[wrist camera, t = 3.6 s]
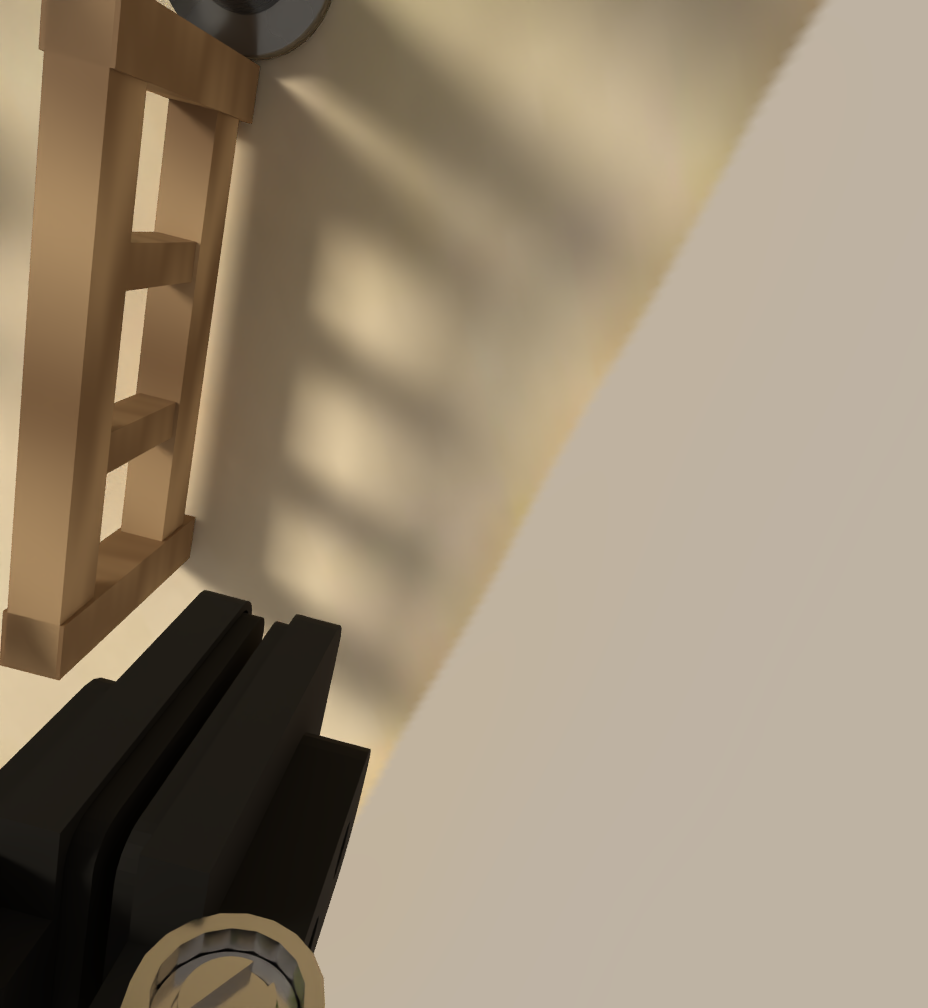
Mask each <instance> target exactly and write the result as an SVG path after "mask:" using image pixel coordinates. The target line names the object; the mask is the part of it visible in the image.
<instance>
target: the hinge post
mask: <svg viewBox="0 0 928 1008" xmlns="http://www.w3.org/2000/svg"><path fill="white" fill-rule="evenodd" d="M169 1H170V3H171V5H172V6H173V8H174V9H175V11H176V13H177V14H178V15H179V16H181V17H182V18H184V19H186V20H187V21H189V22H190V23H192V24H194V25H195V26H197V27H198V28H200V29H201V30H203V31H205V32H206V33H208V34H209V35H211V36H213V37H214V38H216V39H217V40H219V41H221V42H222V43H224V44H225V45H227V46H229V47H230V48H232V49H233V50H235V51H237V52H238V53H240V54H241V55H243V56H245V57H246V58H248V59H250V60H264V59H270V58H275V57H279V56H281V55H284V54H286V53H288V52H290V51H292V50H294V49H295V48H297V47H298V46H300V45H301V44H302V43H304V42H305V41H306V40H307V39H308V38H309V37H310V36H311V35H312V34H313V33H314V31H315V30H316V29H317V27H318V26H319V25H320V23H321V22H322V20H323V18H324V16H325V14H326V13H327V10H328V8H329V5H330V3H331V0H169Z"/></svg>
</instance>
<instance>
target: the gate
mask: <svg viewBox="0 0 928 1008" xmlns="http://www.w3.org/2000/svg"><path fill="white" fill-rule="evenodd" d="M39 49H40V50H42V51H44V60H43V75H42V90H41V105H40V121H39V136H38V151H37V167H36V182H35V197H34V213H33V228H32V243H31V258H30V274H29V289H28V304H27V320H26V335H25V350H24V365H23V381H22V396H21V411H20V427H19V442H18V457H17V473H16V488H15V503H14V518H13V534H12V549H11V564H10V580H9V595H8V608H7V609H5V610H4V611H3V619H2V635H1V651H0V665H1V666H5V667H9V668H13V669H17V670H21V671H25V672H29V673H33V674H36V675H40V676H44V677H48V678H52V679H56V680H60V679H61V678H62V677H63V676H64V675H65V674H66V673H68V672H69V671H70V670H71V669H72V668H73V667H74V666H75V665H76V664H77V663H78V662H79V661H80V660H81V659H82V658H83V657H85V656H86V655H87V654H88V653H89V652H90V651H91V650H92V649H93V648H94V647H95V646H96V645H97V644H98V643H99V642H100V641H102V640H103V639H104V638H105V637H106V636H107V635H108V634H109V633H110V632H111V631H112V630H113V629H114V628H115V627H116V626H117V625H119V624H120V623H121V622H122V621H123V620H124V619H125V618H126V617H127V616H128V615H129V614H130V613H131V612H132V611H133V610H135V609H136V608H137V607H138V606H139V605H140V604H141V603H142V602H143V601H144V600H145V599H146V598H147V597H148V596H149V595H150V594H152V593H153V592H154V591H155V590H156V589H157V588H158V587H159V586H160V585H161V584H162V583H163V582H164V581H165V580H166V579H167V578H169V577H170V576H171V575H172V574H173V573H174V572H175V571H176V570H177V569H178V568H179V567H180V566H181V565H182V564H183V563H184V562H186V561H187V560H188V559H189V558H190V551H191V544H192V537H193V530H194V523H195V517H193V516H189V515H185V507H186V500H187V492H188V485H189V478H190V471H191V463H192V456H193V449H194V442H195V435H196V427H197V420H198V413H199V406H200V398H201V391H202V384H203V377H204V369H205V362H206V355H207V348H208V341H209V333H210V326H211V319H212V312H213V304H214V297H215V290H216V283H217V276H218V268H219V261H220V254H221V247H222V239H223V232H224V225H225V218H226V211H227V203H228V196H229V189H230V182H231V174H232V167H233V160H234V153H235V145H236V138H237V131H238V124H239V121H243V122H247V123H251V124H252V119H253V112H254V105H255V98H256V91H257V84H258V77H259V70H260V66H259V65H257V64H256V63H254V62H253V61H251V60H249V59H248V58H246V57H245V56H243V55H241V54H240V53H238V52H237V51H235V50H233V49H232V48H230V47H229V46H227V45H225V44H224V43H222V42H221V41H219V40H217V39H216V38H214V37H213V36H211V35H209V34H208V33H206V32H205V31H203V30H201V29H200V28H198V27H197V26H195V25H194V24H192V23H190V22H189V21H187V20H186V19H184V18H182V17H181V16H179V15H178V14H176V13H174V12H173V11H171V10H170V9H168V8H166V7H165V6H163V5H162V4H160V3H158V2H157V1H155V0H42V4H41V20H40V36H39ZM146 90H147V91H150V92H153V93H155V94H158V95H161V96H163V97H166V98H168V99H169V105H168V114H167V123H166V132H165V141H164V150H163V158H162V167H161V176H160V185H159V194H158V203H157V212H156V221H155V230H154V232H132V224H133V214H134V205H135V195H136V185H137V176H138V166H139V156H140V147H141V137H142V127H143V118H144V108H145V98H146ZM143 288H148V292H147V301H146V310H145V319H144V328H143V337H142V346H141V355H140V364H139V373H138V382H137V391H136V395H133V396H131V397H128V398H126V399H123V400H121V401H118V402H116V403H114V398H115V389H116V379H117V369H118V360H119V350H120V340H121V331H122V321H123V311H124V302H125V292H126V291H129V290H136V289H143ZM127 462H128V471H127V480H126V489H125V498H124V507H123V516H122V525H121V528H120V529H118V530H117V531H115V532H114V533H113V534H111V535H110V536H108V537H107V538H105V539H104V540H103V541H101V542H100V534H101V524H102V514H103V505H104V495H105V485H106V476H107V473H109V472H111V471H112V470H114V469H116V468H118V467H120V466H121V465H123V464H125V463H127Z"/></svg>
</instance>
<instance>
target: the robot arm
mask: <svg viewBox="0 0 928 1008" xmlns="http://www.w3.org/2000/svg"><path fill="white" fill-rule="evenodd" d="M251 614H252V605H251V603H250V602H249V601H245V600H241V599H238V598H234V597H230V596H226V595H223V594H219V593H215V592H211V591H207V590H204V591H202V592H201V593H200V594H199V595H198V596H197V597H196V598H195V599H194V600H193V601H192V602H191V603H190V604H189V605H188V606H187V608H186V609H185V610H184V611H183V612H182V613H181V614H180V615H179V616H178V617H177V618H176V619H175V620H174V621H173V622H172V623H171V624H170V625H169V626H168V628H167V629H166V630H165V631H164V632H163V633H162V634H161V635H160V636H159V637H158V638H157V639H156V640H155V641H154V642H153V643H152V644H151V645H150V646H149V648H148V649H147V650H146V651H145V652H144V653H143V654H142V655H141V656H140V657H139V658H138V659H137V660H136V661H135V662H134V663H133V664H132V665H131V666H130V668H129V669H128V670H127V671H126V672H125V673H124V674H123V675H122V676H121V677H120V678H119V679H118V680H117V681H112V680H108V679H104V678H97V679H93V680H92V681H91V682H89V683H88V684H87V685H85V686H84V687H83V688H82V689H81V690H80V691H79V692H78V693H77V694H76V695H75V696H74V697H73V698H72V699H71V700H70V701H69V702H68V703H67V704H66V705H65V706H64V707H63V708H62V709H61V710H60V711H59V712H58V713H57V714H56V715H55V716H54V717H53V718H52V719H51V720H50V721H49V722H48V723H47V724H46V725H45V726H44V727H43V728H42V729H41V730H40V731H39V732H38V733H37V734H36V735H35V736H34V737H33V738H32V739H31V740H30V741H29V742H28V743H27V744H26V745H25V746H24V747H22V748H21V749H20V750H19V751H18V752H17V753H16V754H15V755H14V756H13V757H12V758H11V759H10V760H9V761H8V762H7V763H6V764H5V765H4V766H3V767H2V768H1V769H0V1008H325V997H324V978H323V975H322V973H321V970H320V968H319V966H318V963H317V961H316V958H315V956H314V950H315V947H316V944H317V941H318V938H319V935H320V932H321V928H322V926H323V922H324V919H325V916H326V913H327V910H328V907H329V904H330V900H331V898H332V894H333V891H334V888H335V885H336V882H337V879H338V876H339V872H340V869H341V866H342V862H343V859H344V856H345V852H346V849H347V845H348V842H349V838H350V835H351V831H352V827H353V823H354V820H355V816H356V812H357V808H358V804H359V800H360V796H361V792H362V788H363V784H364V780H365V775H366V771H367V767H368V763H369V758H370V752H371V749H368V748H364V747H360V746H356V745H353V744H349V743H345V742H341V741H338V740H334V739H330V738H326V737H323V736H319V735H320V731H321V726H322V722H323V717H324V712H325V708H326V703H327V698H328V694H329V689H330V684H331V680H332V675H333V670H334V666H335V661H336V656H337V652H338V647H339V642H340V637H341V626H340V625H336V624H332V623H329V622H325V621H321V620H317V619H313V618H310V617H306V616H302V615H298V614H297V615H295V617H294V618H293V619H292V621H291V622H290V624H285V623H281V622H278V621H277V622H275V623H274V624H273V625H272V627H271V628H270V630H269V631H268V633H267V634H266V635H265V637H264V638H263V640H262V637H263V632H264V618H262V617H259V616H255V615H251Z"/></svg>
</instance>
